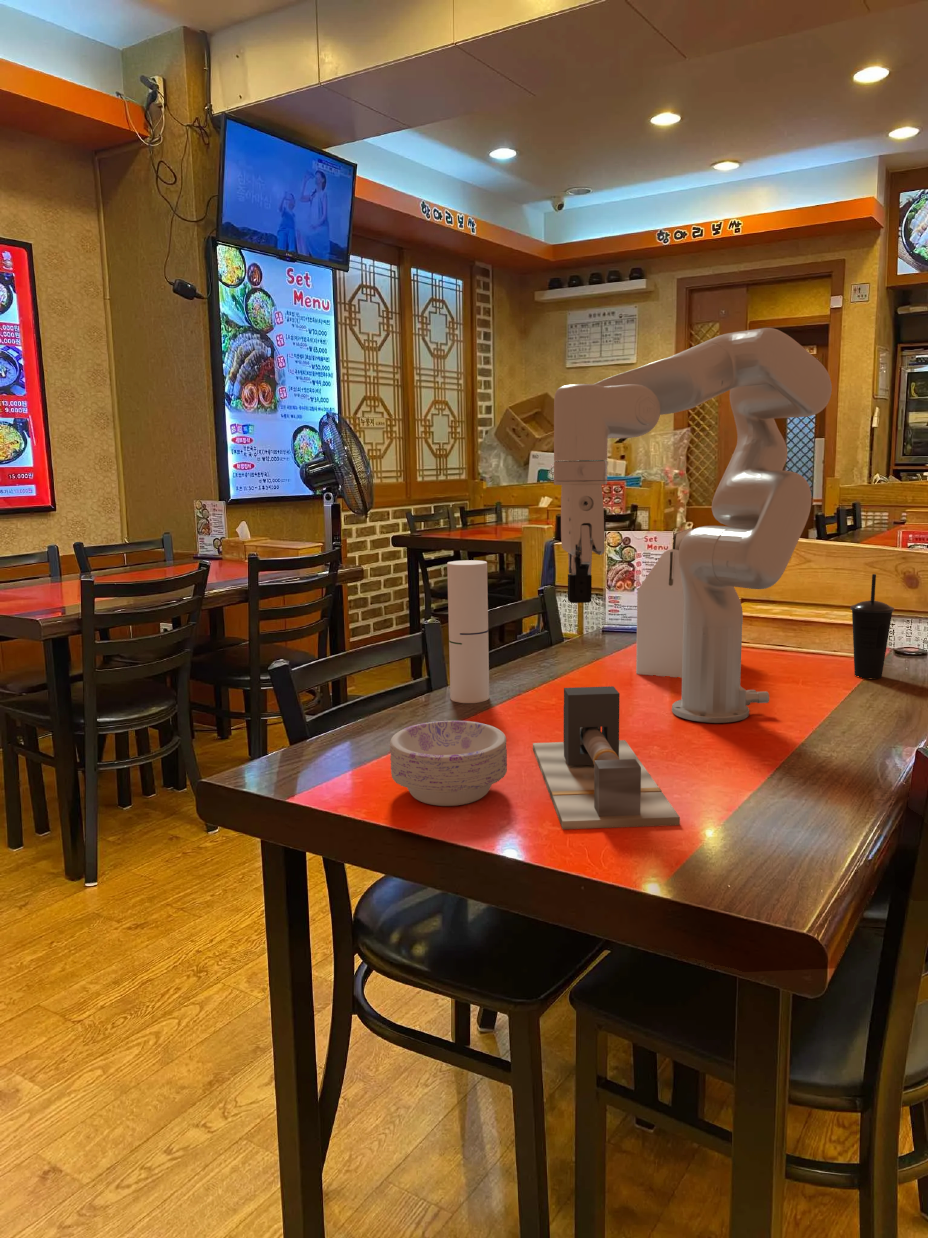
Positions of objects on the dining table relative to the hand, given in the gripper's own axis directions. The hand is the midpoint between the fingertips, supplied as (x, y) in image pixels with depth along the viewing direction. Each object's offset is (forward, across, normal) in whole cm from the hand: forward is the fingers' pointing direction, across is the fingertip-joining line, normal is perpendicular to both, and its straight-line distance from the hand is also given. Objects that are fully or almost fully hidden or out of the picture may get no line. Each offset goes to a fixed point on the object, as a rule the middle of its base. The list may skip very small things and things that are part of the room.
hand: (579, 601), depth 132 cm
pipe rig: (+23, -14, 0) cm, 26 cm away
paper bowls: (+23, -16, +20) cm, 34 cm away
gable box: (+22, +53, -30) cm, 65 cm away
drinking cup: (+22, +39, -63) cm, 78 cm away
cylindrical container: (+23, +32, +15) cm, 42 cm away
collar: (+21, -9, 0) cm, 23 cm away
